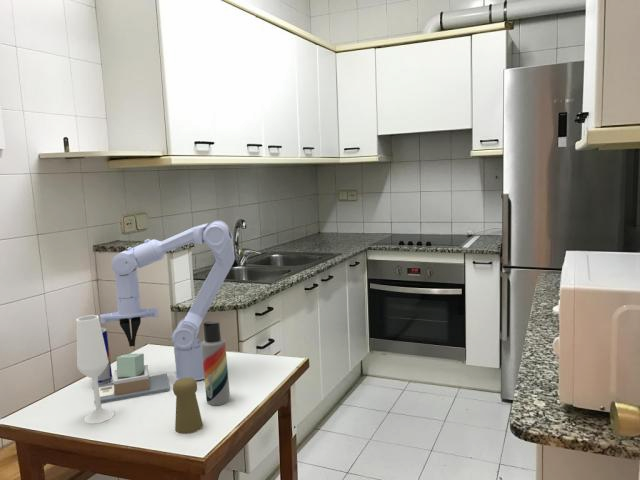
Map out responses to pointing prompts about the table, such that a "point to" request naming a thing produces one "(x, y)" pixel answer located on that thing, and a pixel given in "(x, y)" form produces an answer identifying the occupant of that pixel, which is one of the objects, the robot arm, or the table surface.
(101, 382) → the beverage can
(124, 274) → the robot arm
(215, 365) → the lotion bottle
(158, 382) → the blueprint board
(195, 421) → the cork
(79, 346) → the champagne flute
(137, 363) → the sage block
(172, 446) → the table surface
